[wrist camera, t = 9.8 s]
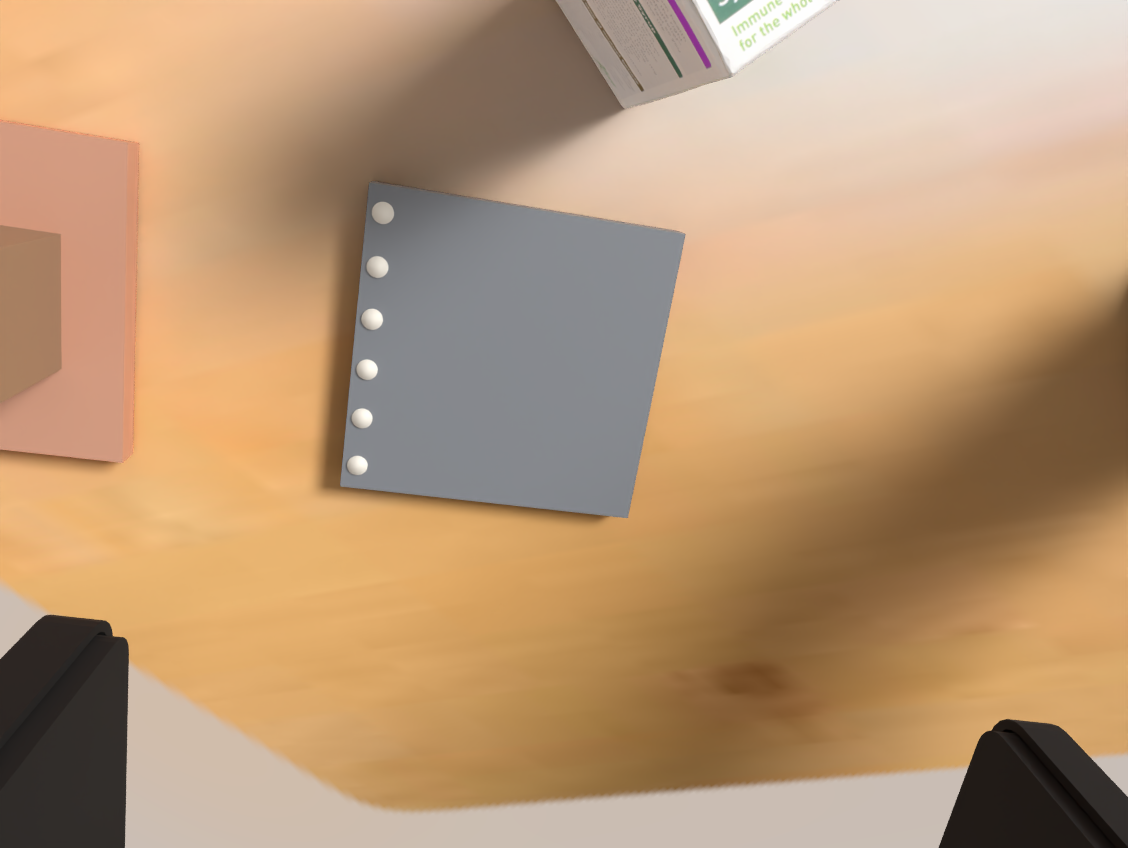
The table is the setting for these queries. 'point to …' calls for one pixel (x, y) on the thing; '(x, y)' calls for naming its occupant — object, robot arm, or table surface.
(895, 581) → the table surface
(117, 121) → the table surface
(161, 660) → the table surface
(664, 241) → the grey dotted square slab
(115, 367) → the pink slab with block
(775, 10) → the syrup box
